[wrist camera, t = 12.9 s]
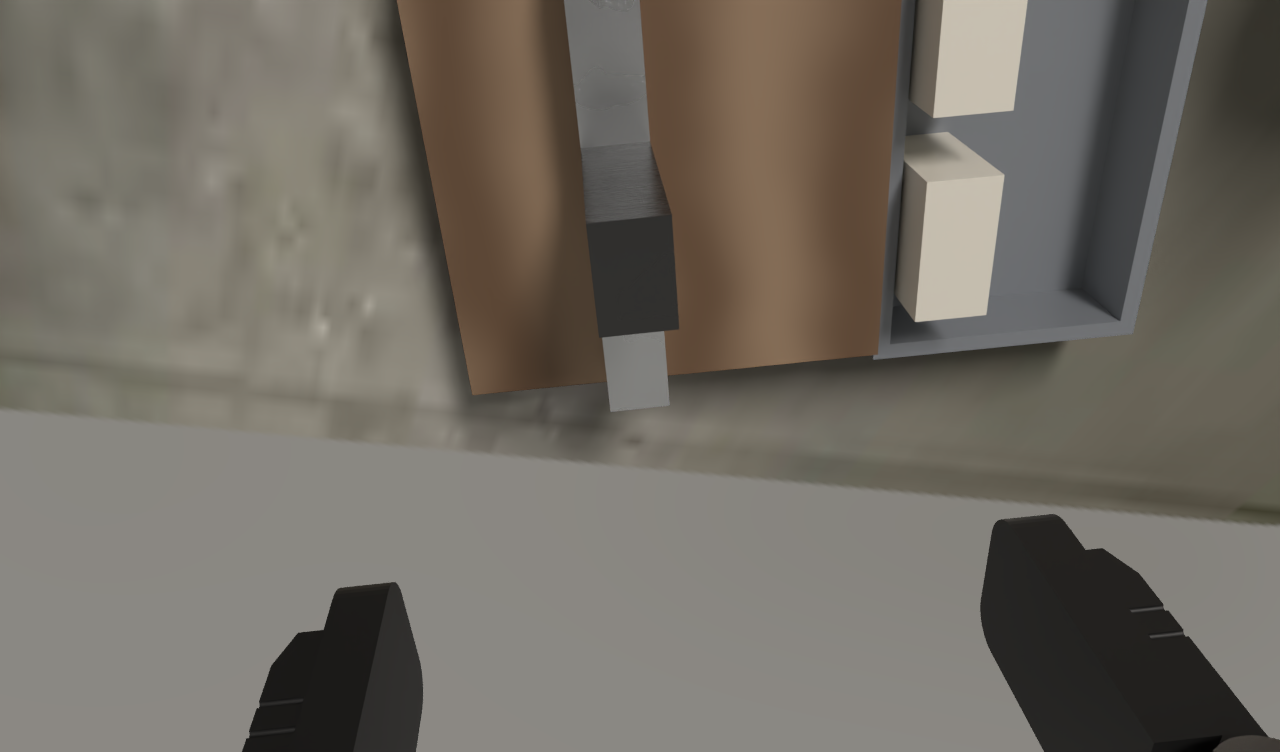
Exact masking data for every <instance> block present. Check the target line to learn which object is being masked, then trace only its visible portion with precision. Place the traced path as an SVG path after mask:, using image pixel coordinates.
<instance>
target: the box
mask: <svg viewBox="0 0 1280 752" xmlns="http://www.w3.org/2000/svg"><path fill="white" fill-rule="evenodd" d="M1206 5H1207V0H1028V2H1027V10H1026V18H1025V25H1024V33H1023V41H1022V48H1021V56H1020V64H1019V71H1018V79H1017V87H1016V94H1015V102H1014V110H1013V111H1004V112H993V113H982V114H972V115H961V116H951V117H940V118H932V117H931V116H930V115H928V114H927V113H926V112H924V111H923V110H922V109H920V108H919V107H918V106H916V105H915V104H914V103H912V102H911V101H910V100H908V94H909V81H910V67H911V54H912V40H913V27H914V13H915V0H902V3H901V18H900V33H899V48H898V63H897V78H896V93H895V108H894V123H893V138H892V152H891V167H890V182H889V197H888V212H887V227H886V242H885V257H884V272H883V287H882V301H881V316H880V331H879V346H878V355H871V357H872V359H873V360H877V359H887V358H897V357H907V356H917V355H927V354H937V353H947V352H957V351H966V350H976V349H986V348H996V347H1006V346H1016V345H1026V344H1036V343H1046V342H1056V341H1066V340H1076V339H1086V338H1096V337H1106V336H1116V335H1126V334H1133V331H1134V327H1135V322H1136V318H1137V313H1138V309H1139V304H1140V300H1141V295H1142V291H1143V286H1144V282H1145V277H1146V273H1147V269H1148V264H1149V260H1150V255H1151V251H1152V246H1153V242H1154V237H1155V233H1156V228H1157V224H1158V219H1159V215H1160V210H1161V206H1162V201H1163V197H1164V193H1165V188H1166V184H1167V179H1168V175H1169V170H1170V166H1171V161H1172V157H1173V152H1174V148H1175V143H1176V139H1177V134H1178V130H1179V126H1180V121H1181V117H1182V112H1183V108H1184V103H1185V99H1186V94H1187V90H1188V85H1189V81H1190V76H1191V72H1192V67H1193V63H1194V59H1195V54H1196V50H1197V45H1198V41H1199V36H1200V32H1201V27H1202V23H1203V18H1204V14H1205V9H1206ZM942 132H949V133H950V134H951V135H953V136H954V137H955V138H957V139H958V140H959V141H961V142H962V143H963V144H965V145H966V146H967V147H968V148H970V149H971V150H972V151H974V152H975V153H976V154H978V155H979V156H980V157H982V158H983V159H984V160H986V161H987V162H988V163H990V164H991V165H992V166H994V167H995V168H996V169H998V170H999V171H1000V172H1001V173H1003V174H1004V175H1005V176H1004V183H1003V191H1002V199H1001V206H1000V214H999V222H998V229H997V237H996V245H995V252H994V260H993V267H992V275H991V283H990V290H989V298H988V306H987V313H986V315H982V316H972V317H962V318H952V319H942V320H932V321H922V322H914V320H913V319H912V317H911V316H910V315H909V313H908V312H907V311H906V309H905V308H904V307H903V305H902V304H901V302H900V301H899V300H898V298H897V297H896V296H895V294H894V283H895V270H896V256H897V243H898V229H899V216H900V202H901V189H902V175H903V162H904V148H905V136H910V135H920V134H931V133H942Z"/></svg>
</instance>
